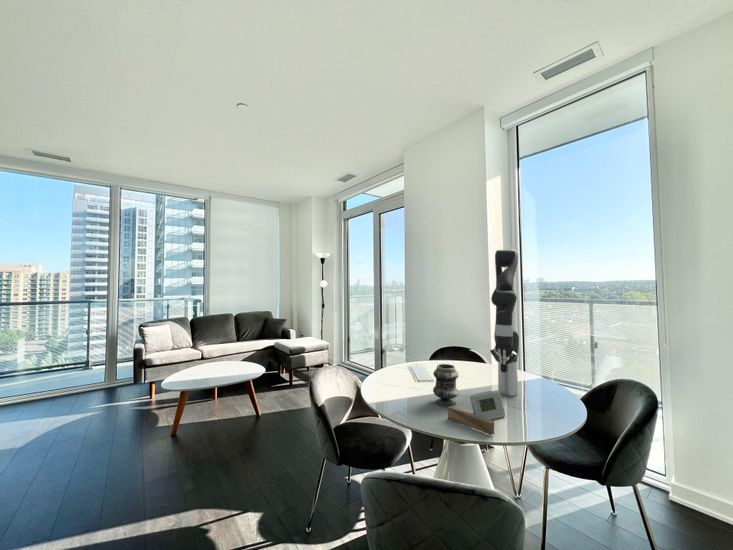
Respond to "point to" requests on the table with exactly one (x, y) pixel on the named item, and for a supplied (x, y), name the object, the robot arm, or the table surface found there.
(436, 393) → the stone urn vase
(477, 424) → the walnut board
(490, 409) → the digital clock
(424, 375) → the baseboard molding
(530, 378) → the table surface
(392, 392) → the table surface
